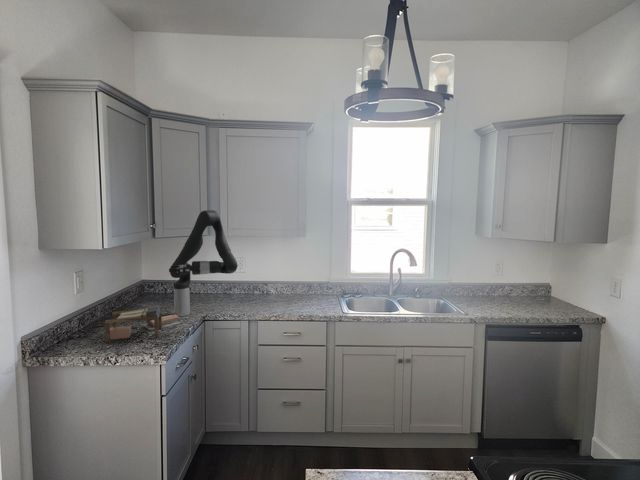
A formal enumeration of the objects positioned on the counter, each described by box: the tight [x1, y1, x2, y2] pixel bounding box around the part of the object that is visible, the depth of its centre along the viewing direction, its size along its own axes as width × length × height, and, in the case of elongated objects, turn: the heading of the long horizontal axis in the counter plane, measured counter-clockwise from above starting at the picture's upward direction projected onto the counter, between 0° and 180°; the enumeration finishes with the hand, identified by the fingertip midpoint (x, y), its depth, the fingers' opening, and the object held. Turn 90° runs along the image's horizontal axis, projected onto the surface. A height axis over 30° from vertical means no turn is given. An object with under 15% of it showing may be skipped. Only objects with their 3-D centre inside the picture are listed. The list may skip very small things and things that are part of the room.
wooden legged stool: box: [104, 307, 163, 345], centre depth 193 cm, size 17×24×12 cm
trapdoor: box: [117, 304, 162, 322], centre depth 193 cm, size 13×19×4 cm
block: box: [110, 325, 132, 340], centre depth 191 cm, size 5×5×10 cm
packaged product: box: [143, 313, 182, 331], centre depth 211 cm, size 18×5×10 cm
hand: (169, 269), depth 199 cm, fingers open, 8 cm apart
